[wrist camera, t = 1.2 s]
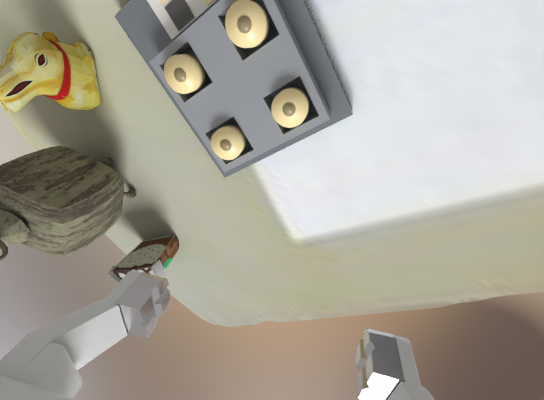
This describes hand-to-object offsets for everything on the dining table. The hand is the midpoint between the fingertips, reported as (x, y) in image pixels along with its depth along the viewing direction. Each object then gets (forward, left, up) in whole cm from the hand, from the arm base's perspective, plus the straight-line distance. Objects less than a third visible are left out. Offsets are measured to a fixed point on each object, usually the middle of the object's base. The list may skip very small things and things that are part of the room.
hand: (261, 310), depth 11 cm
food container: (+43, +11, -33) cm, 55 cm away
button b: (+12, -4, -28) cm, 31 cm away
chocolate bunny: (+30, -23, -33) cm, 50 cm away
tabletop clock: (+40, -9, -33) cm, 52 cm away
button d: (+12, -14, -28) cm, 34 cm away
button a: (+2, -3, -28) cm, 29 cm away
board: (+7, -11, -33) cm, 35 cm away
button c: (+2, -13, -28) cm, 32 cm away
